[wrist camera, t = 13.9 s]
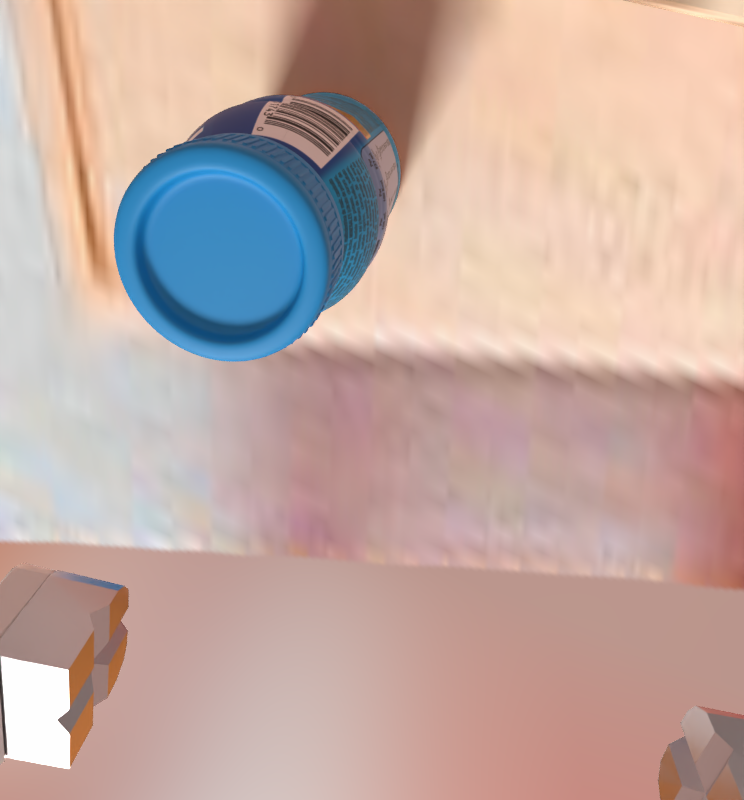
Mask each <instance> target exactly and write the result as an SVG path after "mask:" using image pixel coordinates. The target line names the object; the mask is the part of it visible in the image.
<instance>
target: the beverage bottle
mask: <svg viewBox="0 0 744 800" xmlns="http://www.w3.org/2000/svg"><path fill="white" fill-rule="evenodd" d="M400 177H401V171H400V160H399V155H398V151H397V148H396V145H395V143H394V140H393V138H392V136H391V134H390V132H389V130H388V129H387V127H386V126H385V124H384V123H383V122H382V121H381V119H380V118H379V117H378V116H377V115H376V114H375V113H374V112H373V111H372V110H370V109H369V108H368V107H366V106H365V105H364V104H362V103H360V102H359V101H357V100H355V99H352V98H350V97H347V96H344V95H341V94H336V93H328V92H319V93H311V94H306V95H302V96H294V95H272V96H265V97H261V98H257V99H254V100H251V101H248V102H245V103H243V104H240V105H237V106H234V107H231V108H228V109H226V110H224V111H222V112H220V113H218V114H216V115H214V116H213V117H211V118H210V119H208V120H207V121H206V122H204V123H203V124H202V125H201V126H200V127H199V128H197V129H196V130H195V131H194V133H193V134H192V135H191V136H190V137H189V138H188V140H187V141H186V142H184V143H182V144H179V145H175V146H174V147H173V148H169V149H167V150H166V152H165V153H161V154H158V155H157V158H155V159H152V160H151V162H150V163H149V164H148V165H146V166H144V167H143V169H142V170H141V171H140V172H139V173H138V175H137V176H136V177H135V178H134V179H133V181H132V182H131V184H130V185H129V187H128V189H127V190H126V192H125V194H124V196H123V198H122V201H121V203H120V206H119V209H118V213H117V217H116V222H115V229H114V250H115V258H116V263H117V267H118V271H119V274H120V277H121V280H122V283H123V285H124V288H125V290H126V292H127V294H128V296H129V297H130V299H131V301H132V303H133V304H134V306H135V307H136V309H137V310H138V311H139V313H140V314H141V315H142V316H143V318H144V319H145V320H146V321H147V322H148V323H149V324H150V325H151V326H152V327H153V328H154V329H155V330H156V331H157V332H158V333H160V334H161V335H162V336H163V337H165V338H166V339H167V340H169V341H170V342H172V343H173V344H175V345H177V346H178V347H180V348H182V349H184V350H186V351H188V352H191V353H193V354H196V355H199V356H202V357H205V358H209V359H214V360H220V361H248V360H254V359H259V358H262V357H266V356H268V355H271V354H273V353H276V352H278V351H280V350H282V349H283V348H286V347H287V346H288V345H290V344H292V343H293V342H294V341H295V340H296V339H299V338H300V337H301V336H302V334H303V333H306V332H307V330H308V328H309V327H311V326H312V325H313V324H314V322H315V320H317V319H318V317H319V315H320V313H321V312H322V311H324V310H326V309H328V308H330V307H331V306H333V305H334V304H336V303H337V302H339V301H340V300H341V299H343V298H344V297H345V296H346V295H347V294H348V293H349V292H350V291H351V290H352V289H353V288H354V287H355V286H356V284H357V283H358V282H359V280H360V279H361V277H362V276H363V274H364V273H365V271H366V269H367V268H368V266H369V265H370V264H371V262H372V261H373V259H374V257H375V256H376V254H377V252H378V250H379V248H380V246H381V243H382V240H383V238H384V234H385V231H386V226H387V221H388V217H389V215H390V213H391V211H392V209H393V207H394V205H395V202H396V199H397V196H398V192H399V187H400Z"/></svg>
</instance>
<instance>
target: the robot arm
mask: <svg viewBox="0 0 744 800" xmlns="http://www.w3.org/2000/svg"><path fill="white" fill-rule="evenodd" d="M128 599H129V590H128V588H126V587H125V586H123V585H118V584H114V583H110V582H106V581H102V580H97V579H93V578H88V577H85V576H80V575H76V574H72V573H67V572H64V571H59V570H57V571H55V570H52V569H48V568H43V567H39V566H35V565H31V564H26V563H22V564H20V565H18V566H16V567H14V568H13V569H12V570H11V571H10V572H9V573H8V574H7V575H6V577H5V578H4V579H3V580H2V581H1V582H0V764H2V763H3V762H4V761H5V757H7V758H13V759H19V760H24V761H30V762H36V763H41V764H47V765H52V766H58V767H64V768H70V767H71V765H72V763H73V761H74V759H75V758H76V756H77V754H78V752H79V750H80V748H81V746H82V745H83V743H84V741H85V739H86V737H87V735H88V734H89V732H90V730H91V728H92V726H93V706H95V705H97V704H98V703H100V702H102V701H103V700H105V699H107V698H108V696H109V694H110V692H111V690H112V688H113V686H114V684H115V682H116V680H117V677H118V675H119V672H120V669H121V666H122V663H123V661H124V656H125V651H126V646H127V634H128V630H127V629H126V627H125V626H124V625H123V623H122V622H121V619H122V618H123V616H124V614H125V612H126V611H127V609H128V607H129V605H128V604H129V603H128V602H129V600H128ZM681 725H682V729H683V732H684V735H685V736H684V737H682V738H680V739H678V740H676V741H674V742H672V743H671V744H669V745H668V747H667V749H666V751H665V753H664V755H663V757H662V759H661V762H660V770H659V778H658V784H659V793H660V799H661V800H744V715H740V714H735V713H730V712H725V711H720V710H715V709H710V708H705V707H700V706H695V707H693V708H692V709H690V710H688V711H687V713H686V715H685V717H684V718H683V720H682V722H681Z"/></svg>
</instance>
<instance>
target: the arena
mask: <svg viewBox="0 0 744 800" xmlns="http://www.w3.org/2000/svg"><path fill="white" fill-rule="evenodd" d="M625 1H630V2H634V3H639V4H643V5H648V6H652V7H657V8H661V9H666V10H670V11H675V12H679V13H684V14H688V15H693V16H697V17H702V18H706V19H711V20H715V21H720V22H724V23H729V24H733V25H738V26H742V27H744V0H625Z"/></svg>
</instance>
